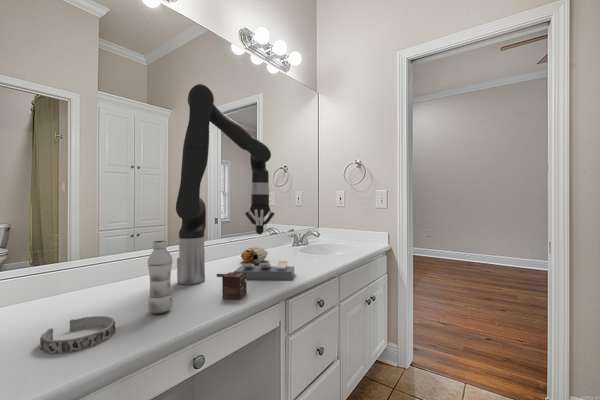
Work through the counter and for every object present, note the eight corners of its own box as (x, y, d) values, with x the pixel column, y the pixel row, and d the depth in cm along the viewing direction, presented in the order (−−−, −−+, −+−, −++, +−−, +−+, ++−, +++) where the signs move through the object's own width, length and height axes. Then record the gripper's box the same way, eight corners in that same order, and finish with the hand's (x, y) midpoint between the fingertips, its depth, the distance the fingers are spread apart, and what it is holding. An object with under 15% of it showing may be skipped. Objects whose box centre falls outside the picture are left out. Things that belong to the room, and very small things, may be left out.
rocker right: (276, 271, 114) (276, 267, 114) (278, 264, 120) (278, 260, 120) (285, 271, 114) (285, 267, 114) (287, 264, 120) (287, 260, 119)
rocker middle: (258, 267, 114) (259, 262, 115) (262, 269, 120) (262, 264, 121) (267, 267, 114) (268, 262, 115) (270, 269, 120) (270, 264, 120)
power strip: (212, 279, 115) (212, 271, 115) (220, 273, 124) (220, 265, 124) (291, 280, 112) (291, 271, 112) (294, 274, 121) (294, 266, 121)
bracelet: (35, 363, 57) (35, 348, 57) (44, 337, 68) (44, 324, 68) (117, 342, 65) (117, 329, 65) (113, 322, 76) (113, 310, 76)
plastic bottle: (166, 306, 86) (165, 239, 86) (177, 311, 82) (176, 241, 82) (143, 312, 81) (142, 241, 81) (154, 318, 77) (153, 243, 77)
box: (239, 300, 90) (239, 276, 90) (222, 299, 92) (221, 276, 92) (247, 293, 96) (246, 272, 96) (230, 293, 98) (229, 271, 98)
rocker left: (241, 267, 115) (241, 263, 116) (245, 268, 121) (246, 263, 121) (250, 267, 115) (250, 263, 115) (254, 268, 121) (254, 263, 121)
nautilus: (252, 271, 129) (225, 270, 135) (274, 258, 149) (249, 258, 155) (251, 253, 129) (223, 253, 135) (273, 243, 149) (248, 243, 155)
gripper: (242, 193, 120) (242, 234, 120) (273, 193, 119) (273, 235, 119) (247, 193, 127) (247, 232, 127) (277, 193, 126) (276, 233, 126)
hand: (259, 234), depth 123 cm, fingers closed
